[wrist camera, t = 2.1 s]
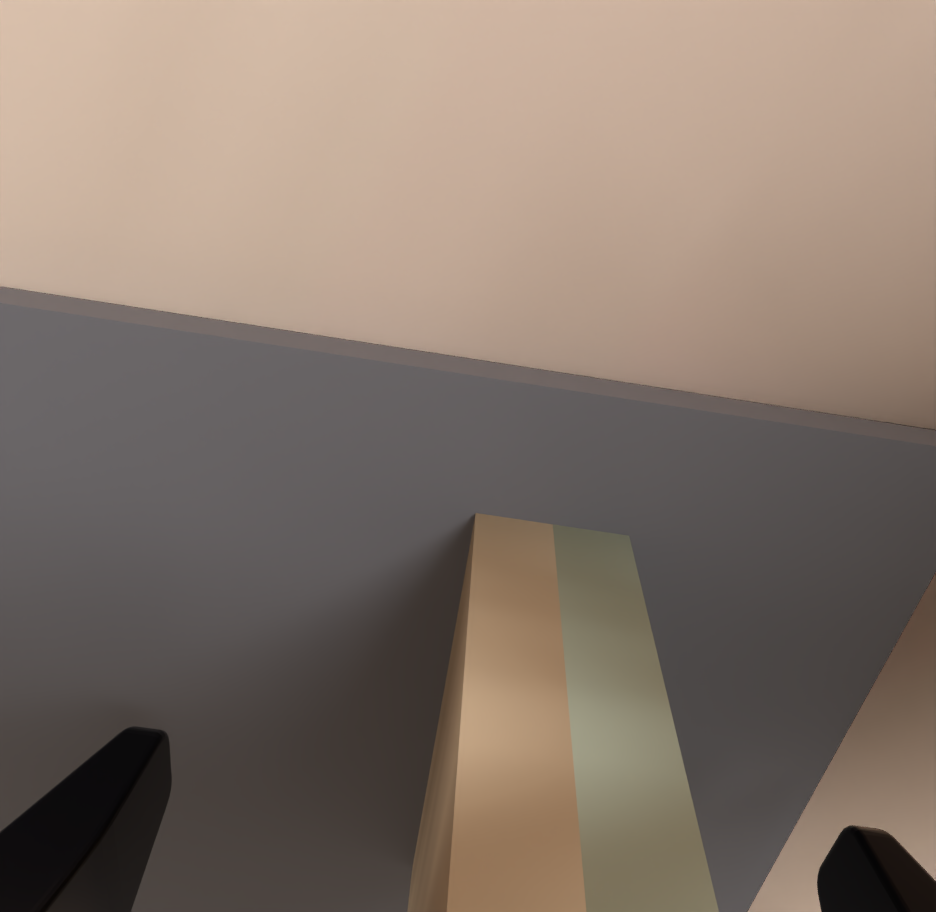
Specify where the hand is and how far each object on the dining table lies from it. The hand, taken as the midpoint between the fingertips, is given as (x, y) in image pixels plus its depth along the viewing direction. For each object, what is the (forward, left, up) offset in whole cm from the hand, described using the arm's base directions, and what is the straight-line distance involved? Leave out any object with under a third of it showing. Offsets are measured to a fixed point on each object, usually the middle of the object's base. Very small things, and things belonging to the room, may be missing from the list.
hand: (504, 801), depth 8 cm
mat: (+4, +2, -1) cm, 5 cm away
